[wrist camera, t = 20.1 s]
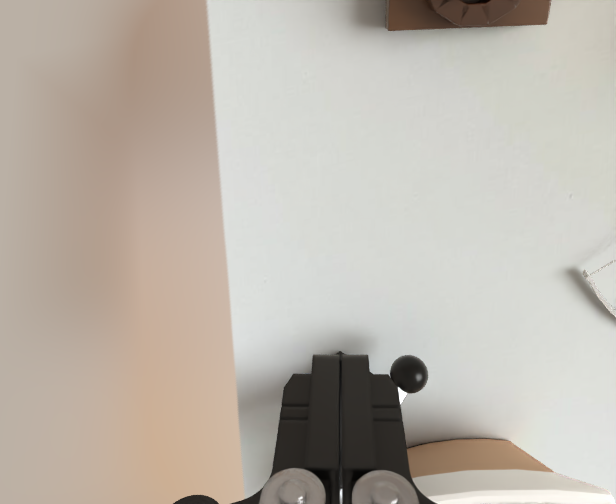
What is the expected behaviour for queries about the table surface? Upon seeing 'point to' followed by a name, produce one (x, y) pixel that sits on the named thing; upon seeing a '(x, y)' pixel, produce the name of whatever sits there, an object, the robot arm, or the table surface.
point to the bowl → (493, 475)
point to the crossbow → (588, 277)
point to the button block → (464, 13)
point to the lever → (407, 378)
